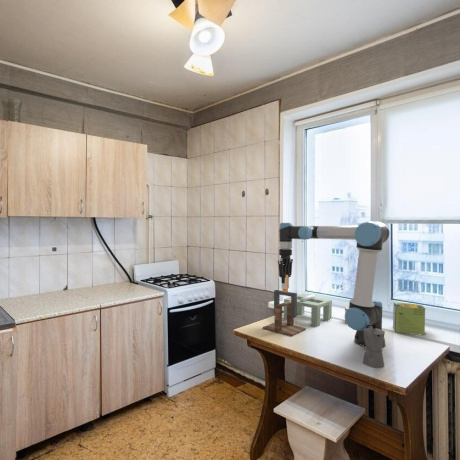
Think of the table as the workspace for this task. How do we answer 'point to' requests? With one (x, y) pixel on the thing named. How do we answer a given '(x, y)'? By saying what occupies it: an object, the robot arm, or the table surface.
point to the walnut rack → (282, 327)
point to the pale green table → (312, 307)
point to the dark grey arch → (286, 293)
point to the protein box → (409, 318)
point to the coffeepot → (373, 346)
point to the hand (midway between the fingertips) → (285, 288)
